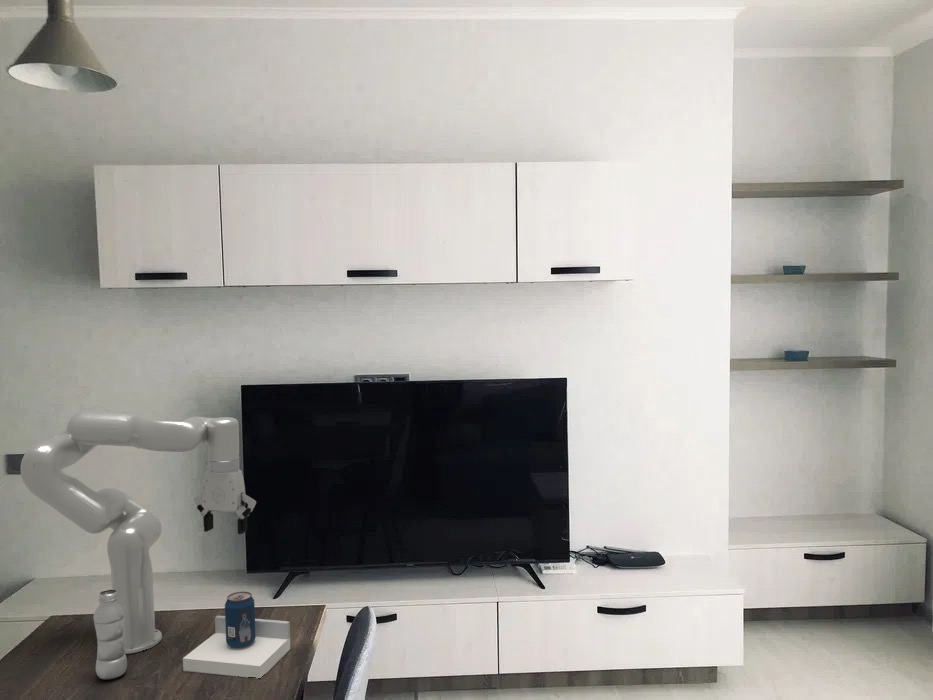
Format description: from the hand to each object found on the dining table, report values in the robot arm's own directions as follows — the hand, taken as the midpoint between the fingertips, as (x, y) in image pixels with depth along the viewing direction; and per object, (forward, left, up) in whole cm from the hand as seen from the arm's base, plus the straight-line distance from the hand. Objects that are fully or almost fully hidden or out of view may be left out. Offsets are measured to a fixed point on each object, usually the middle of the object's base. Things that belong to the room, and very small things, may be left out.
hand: (225, 531), depth 186 cm
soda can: (+9, -9, -25) cm, 28 cm away
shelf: (+9, -10, -28) cm, 31 cm away
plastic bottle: (-16, -23, -28) cm, 40 cm away
